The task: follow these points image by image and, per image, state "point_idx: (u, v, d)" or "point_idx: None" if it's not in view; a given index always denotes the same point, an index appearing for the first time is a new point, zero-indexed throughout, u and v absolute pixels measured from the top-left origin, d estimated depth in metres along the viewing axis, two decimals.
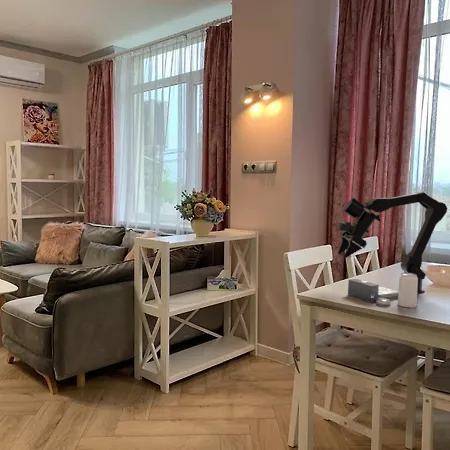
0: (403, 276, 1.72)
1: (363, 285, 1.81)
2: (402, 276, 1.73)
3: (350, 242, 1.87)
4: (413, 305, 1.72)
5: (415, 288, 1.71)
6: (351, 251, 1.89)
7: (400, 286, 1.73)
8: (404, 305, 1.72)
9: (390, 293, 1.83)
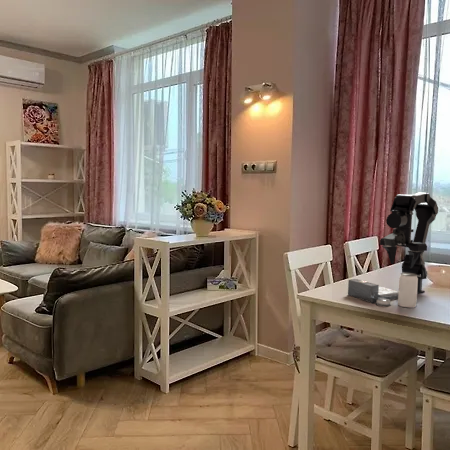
0: (403, 276, 1.72)
1: (363, 285, 1.81)
2: (402, 276, 1.73)
3: (412, 253, 1.77)
4: (413, 305, 1.72)
5: (415, 288, 1.71)
6: (415, 259, 1.79)
7: (400, 286, 1.73)
8: (404, 305, 1.72)
9: (390, 293, 1.83)
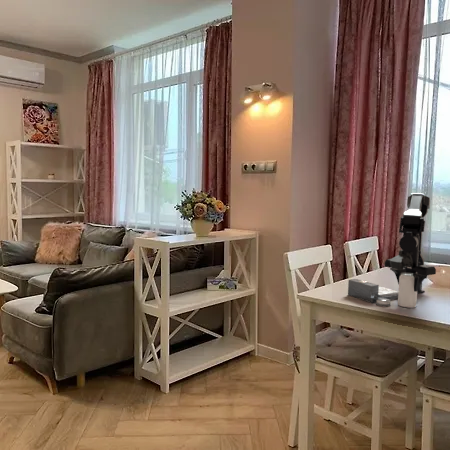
0: (403, 276, 1.72)
1: (363, 285, 1.81)
2: (402, 276, 1.73)
3: (417, 276, 1.67)
4: (413, 305, 1.72)
5: None
6: (419, 282, 1.70)
7: (400, 286, 1.73)
8: (404, 305, 1.72)
9: (390, 293, 1.83)
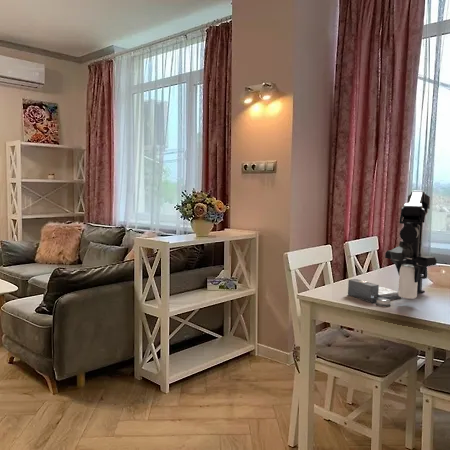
0: (403, 267, 1.72)
1: (363, 285, 1.81)
2: (402, 267, 1.72)
3: (418, 267, 1.67)
4: (413, 296, 1.71)
5: None
6: (420, 273, 1.70)
7: (400, 277, 1.73)
8: (404, 296, 1.72)
9: (390, 293, 1.83)
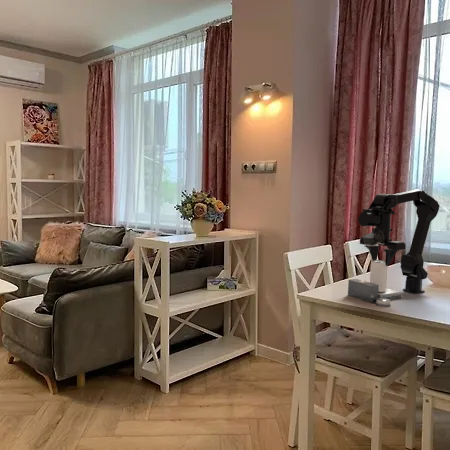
0: (375, 263, 1.84)
1: (363, 285, 1.81)
2: (374, 263, 1.85)
3: (388, 251, 1.80)
4: (385, 289, 1.85)
5: (386, 273, 1.84)
6: (390, 257, 1.83)
7: (373, 272, 1.85)
8: None
9: (390, 293, 1.83)
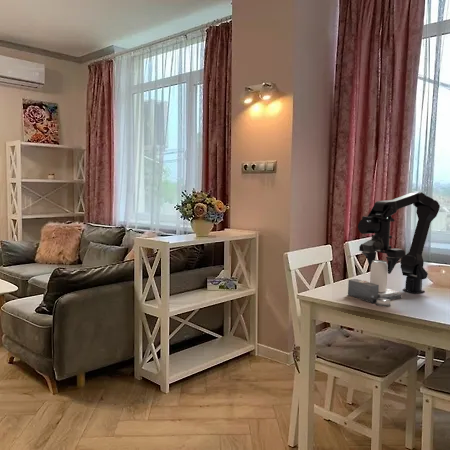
0: (376, 263, 1.84)
1: (363, 285, 1.81)
2: (374, 263, 1.85)
3: (390, 259, 1.79)
4: (385, 289, 1.85)
5: (386, 274, 1.84)
6: (393, 265, 1.82)
7: (373, 273, 1.85)
8: None
9: (390, 293, 1.83)
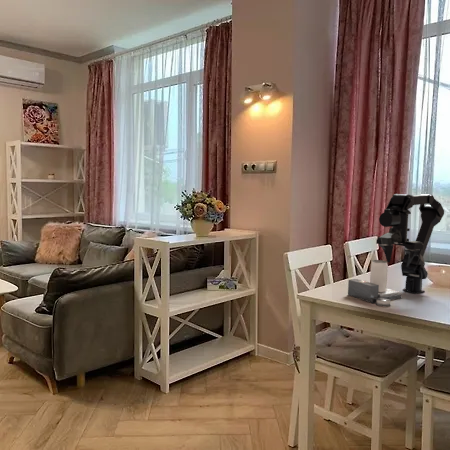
0: (376, 263, 1.84)
1: (363, 285, 1.81)
2: (375, 263, 1.85)
3: (409, 251, 1.80)
4: (385, 289, 1.85)
5: (386, 274, 1.84)
6: (411, 257, 1.82)
7: (373, 273, 1.85)
8: None
9: (390, 293, 1.83)
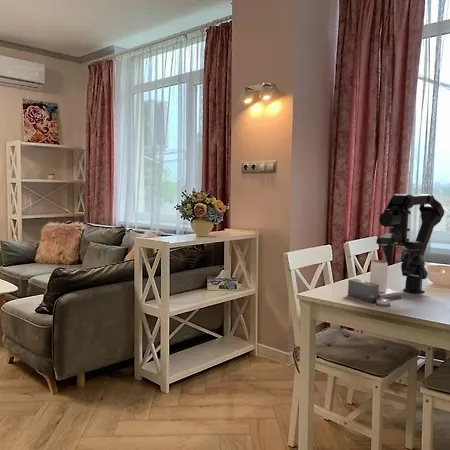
0: (376, 263, 1.84)
1: (363, 285, 1.81)
2: (375, 263, 1.85)
3: (409, 251, 1.80)
4: (385, 289, 1.85)
5: (386, 274, 1.84)
6: (411, 257, 1.82)
7: (373, 273, 1.85)
8: None
9: (390, 293, 1.83)
